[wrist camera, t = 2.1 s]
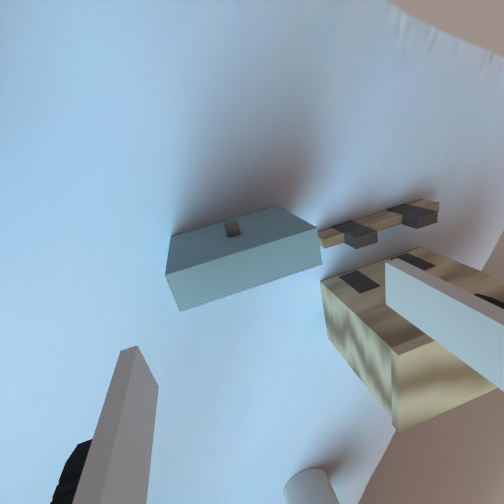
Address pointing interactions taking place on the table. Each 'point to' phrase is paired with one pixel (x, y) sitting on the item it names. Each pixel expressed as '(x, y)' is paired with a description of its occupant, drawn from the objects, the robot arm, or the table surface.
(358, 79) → the table surface
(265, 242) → the door
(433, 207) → the cabinet
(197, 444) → the table surface
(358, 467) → the table surface
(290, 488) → the cup
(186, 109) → the table surface
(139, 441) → the robot arm
